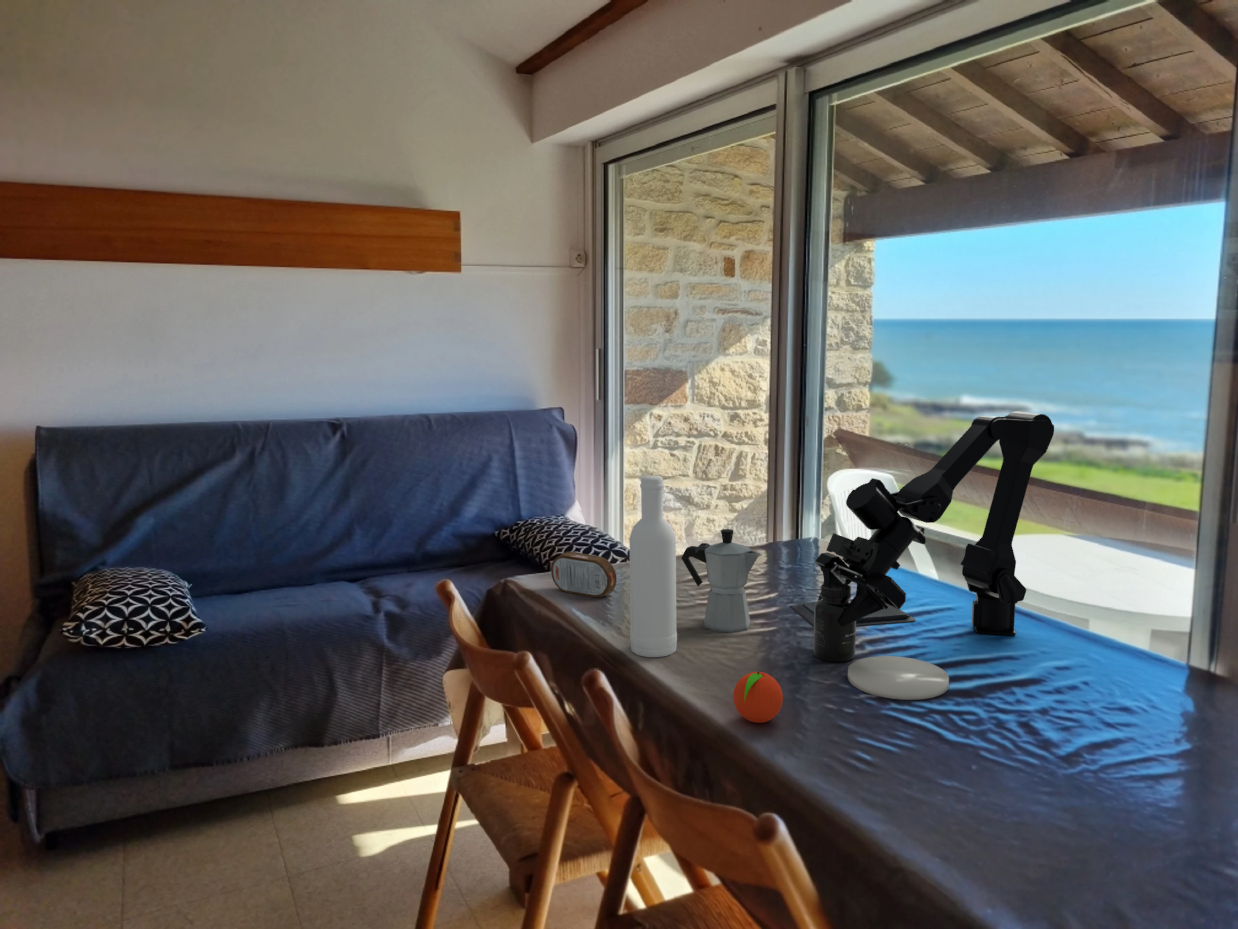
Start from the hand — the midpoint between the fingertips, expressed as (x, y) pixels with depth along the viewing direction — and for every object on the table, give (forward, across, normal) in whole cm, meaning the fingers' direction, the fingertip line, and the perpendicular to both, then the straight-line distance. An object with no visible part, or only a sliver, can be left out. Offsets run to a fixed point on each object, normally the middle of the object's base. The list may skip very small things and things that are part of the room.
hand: (827, 618), depth 156 cm
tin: (+23, -51, -13) cm, 58 cm away
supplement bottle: (+4, 0, +6) cm, 7 cm away
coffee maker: (+11, -22, -1) cm, 25 cm away
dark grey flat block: (-7, -18, +18) cm, 26 cm away
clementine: (+21, +18, -12) cm, 30 cm away
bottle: (+22, -15, -13) cm, 30 cm away
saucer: (+2, +13, +8) cm, 15 cm away
